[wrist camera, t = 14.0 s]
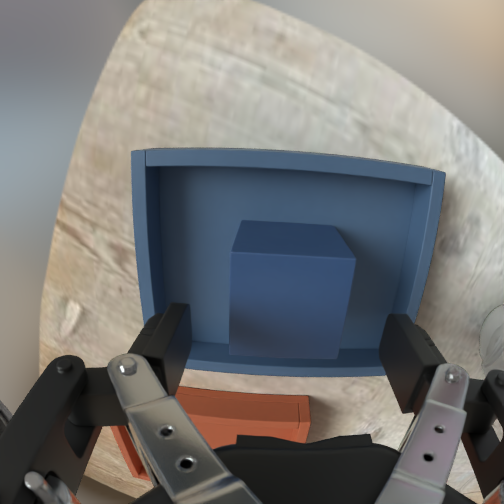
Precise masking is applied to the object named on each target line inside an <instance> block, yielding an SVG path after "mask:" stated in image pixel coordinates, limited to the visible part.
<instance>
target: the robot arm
mask: <svg viewBox="0 0 504 504" xmlns="http://www.w3.org/2000/svg"><path fill="white" fill-rule="evenodd" d="M191 347H192V325H191V308H190V304H186V303H175V302H171V303H170V304H169V306H168V308H167V309H166V311H165V313H164V314H163V313H157V314H155V315H154V316H152V317H151V318H149V319H148V320H147V322H146V324H145V325H144V328H143V329H142V330H141V332H140V334H139V335H138V337H137V338H136V340H135V342H134V343H133V345H132V346H131V348H130V350H129V351H128V353H127V354H122V355H119V356H116V357H115V358H113V359H112V360H111V361H110V362H109V363H108V366H107V367H102V368H85V365H84V362H83V360H82V359H81V358H79V357H77V356H73V355H65V356H61V357H58V358H56V359H54V360H53V361H52V362H51V363H50V364H49V365H48V366H47V368H46V369H45V370H44V372H43V373H42V375H41V376H40V377H39V379H38V380H37V382H36V383H35V384H34V386H33V387H32V389H31V390H30V392H29V393H28V394H27V396H26V397H25V399H24V400H23V402H22V403H21V405H20V406H19V408H18V409H17V411H16V412H15V414H14V415H13V417H12V418H11V420H10V421H9V423H8V422H7V421H6V419H5V418H4V417H3V415H2V414H1V413H0V504H81V503H80V502H79V500H78V499H77V498H76V497H75V495H76V493H77V490H78V487H79V485H80V482H81V479H82V477H83V474H84V471H85V469H86V466H87V464H88V461H89V459H90V456H91V454H92V451H93V449H94V446H95V444H96V441H97V439H98V437H99V434H100V432H101V429H102V427H103V426H125V427H126V430H127V432H128V434H129V436H130V439H131V441H132V443H133V445H134V447H135V449H136V451H137V453H138V455H139V457H140V459H141V461H142V463H143V465H144V468H145V470H146V472H147V474H148V476H149V478H150V480H151V482H152V484H153V486H154V488H153V489H151V490H150V491H148V492H146V493H145V494H143V495H142V496H140V497H139V498H137V499H136V500H134V501H132V502H131V503H129V504H477V503H475V502H474V501H472V500H470V499H469V498H467V497H466V496H464V495H463V494H461V493H459V492H458V491H456V490H455V489H453V488H452V487H450V486H449V485H447V484H446V482H447V479H448V477H449V474H450V471H451V468H452V465H453V462H454V459H455V456H456V452H457V449H458V446H459V442H460V439H461V440H462V443H463V445H464V447H465V450H466V452H467V455H468V458H469V460H470V463H471V465H472V468H473V471H474V473H475V476H476V479H477V481H478V484H479V487H480V490H481V493H482V496H483V499H484V501H483V504H504V371H503V370H499V369H494V370H490V371H489V372H488V374H487V376H486V378H485V380H478V379H470V378H469V375H468V373H467V372H466V370H464V369H463V368H462V367H460V366H458V365H456V364H451V363H447V362H446V360H445V359H444V357H443V356H442V354H441V353H440V351H439V350H438V348H437V347H436V346H435V344H434V343H433V341H432V340H431V338H430V337H429V335H428V334H427V333H426V331H425V330H423V329H422V328H421V327H419V326H418V325H415V324H414V323H413V322H412V320H411V319H410V317H409V316H408V315H407V314H406V313H390V314H389V315H388V316H387V319H386V323H385V326H384V330H383V334H382V337H381V341H380V344H379V359H380V361H381V364H382V366H383V368H384V370H385V373H386V375H387V377H388V380H389V382H390V385H391V387H392V389H393V392H394V394H395V397H396V399H397V401H398V404H399V406H400V409H401V411H402V414H403V413H411V412H414V414H415V416H414V417H413V419H412V421H411V423H410V426H409V428H408V430H407V432H406V434H405V436H404V438H403V440H402V442H401V444H400V446H399V448H398V450H395V449H393V448H391V447H388V446H385V445H381V444H376V443H372V439H371V435H370V434H362V435H348V436H337V437H334V438H330V439H325V440H321V441H317V442H313V443H299V442H294V441H290V440H285V439H280V438H276V437H271V436H252V435H238V434H237V438H236V444H229V445H225V446H221V447H217V448H214V449H212V448H211V447H210V445H209V444H208V443H207V441H206V440H205V439H204V437H203V436H202V434H201V433H200V432H199V430H198V429H197V427H196V426H195V425H194V423H193V422H192V420H191V419H190V417H189V416H188V415H187V413H186V412H185V410H184V409H183V407H182V406H181V404H180V403H179V401H178V400H177V398H176V397H175V395H176V392H177V389H178V386H179V383H180V380H181V377H182V375H183V372H184V369H185V366H186V363H187V360H188V357H189V354H190V352H191ZM496 419H498V420H499V422H500V424H501V426H502V428H503V438H502V440H501V442H500V441H499V439H498V437H497V435H496V433H495V431H494V429H493V427H492V425H493V423H494V422H495V420H496Z"/></svg>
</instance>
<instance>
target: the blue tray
mask: <svg viewBox="0 0 504 504" xmlns="http://www.w3.org/2000/svg"><path fill="white" fill-rule="evenodd" d="M445 176H446V173H445V172H442V171H439V170H435V169H431V168H427V167H422V166H417V165H411V164H404V163H398V162H391V161H384V160H377V159H369V158H361V157H353V156H344V155H334V154H324V153H312V152H300V151H285V150H268V149H245V148H151V149H143V150H135V151H131V178H132V205H133V223H134V238H135V250H136V261H137V271H138V281H139V289H140V298H141V306H142V313H143V320H144V325H145V324H146V322H147V320H148V319H149V318H151V317H152V316H154V315H155V314H157V313H163V314H164V313H165V311H166V309H167V308H168V306H169V304H170V303H171V302H175V303H186V304H190V308H191V325H192V347H191V352H190V354H189V357H188V360H187V363H186V366H185V368H186V369H194V370H203V371H213V372H224V373H236V374H250V375H266V376H290V377H362V376H385V375H386V373H385V370H384V368H383V366H382V364H381V361H380V359H379V344H380V341H381V337H382V334H383V330H384V326H385V323H386V319H387V316H388V315H389V314H390V313H406V314H407V315H408V316H409V317H410V319H411V320H412V322H413V323H415V320H416V317H417V313H418V310H419V306H420V303H421V299H422V296H423V292H424V288H425V284H426V280H427V276H428V272H429V268H430V263H431V259H432V254H433V250H434V245H435V240H436V235H437V229H438V224H439V218H440V212H441V206H442V199H443V192H444V184H445ZM241 220H251V221H269V222H287V223H303V224H319V225H333V226H334V227H335V228H336V229H337V231H338V232H339V234H340V235H341V237H342V238H343V240H344V241H345V243H346V244H347V246H348V247H349V248H350V250H351V251H352V253H353V254H354V256H355V257H356V266H355V272H354V278H353V284H352V289H351V295H350V300H349V305H348V311H347V316H346V321H345V325H344V330H343V335H342V339H341V344H340V348H339V353H338V357H337V359H306V358H277V357H258V356H242V355H230V354H229V273H230V251H231V248H232V245H233V242H234V239H235V237H236V234H237V231H238V228H239V225H240V223H241Z"/></svg>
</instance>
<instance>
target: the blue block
mask: <svg viewBox="0 0 504 504" xmlns="http://www.w3.org/2000/svg"><path fill="white" fill-rule="evenodd" d="M355 266H356V257H355V256H354V254H353V253H352V251H351V250H350V248H349V247H348V246H347V244H346V243H345V241H344V240H343V238H342V237H341V235H340V234H339V232H338V231H337V229H336V228H335V227H334V226H333V225H319V224H303V223H287V222H269V221H251V220H241V223H240V225H239V228H238V231H237V234H236V237H235V239H234V242H233V245H232V248H231V251H230V273H229V354H230V355H242V356H258V357H277V358H306V359H337V357H338V353H339V348H340V344H341V339H342V335H343V330H344V325H345V321H346V316H347V311H348V305H349V300H350V295H351V289H352V284H353V278H354V272H355Z"/></svg>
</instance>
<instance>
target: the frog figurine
mask: <svg viewBox="0 0 504 504" xmlns="http://www.w3.org/2000/svg"><path fill="white" fill-rule="evenodd" d="M479 343H480V349H479V351H480V356H481V358H482V360H483V361H482V370H483V372H484V374H485V375H486V376H487V374H488V372H489V371H490V370H494V369H499V370H503V371H504V304H503V305H501V306H499V307H497V308H495V309H494V310H493V311H492V312H491V313H490V314H489V315H488V316H487V318H486V319H485V321H484V323H483V325H482V328H481V331H480V339H479Z"/></svg>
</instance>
